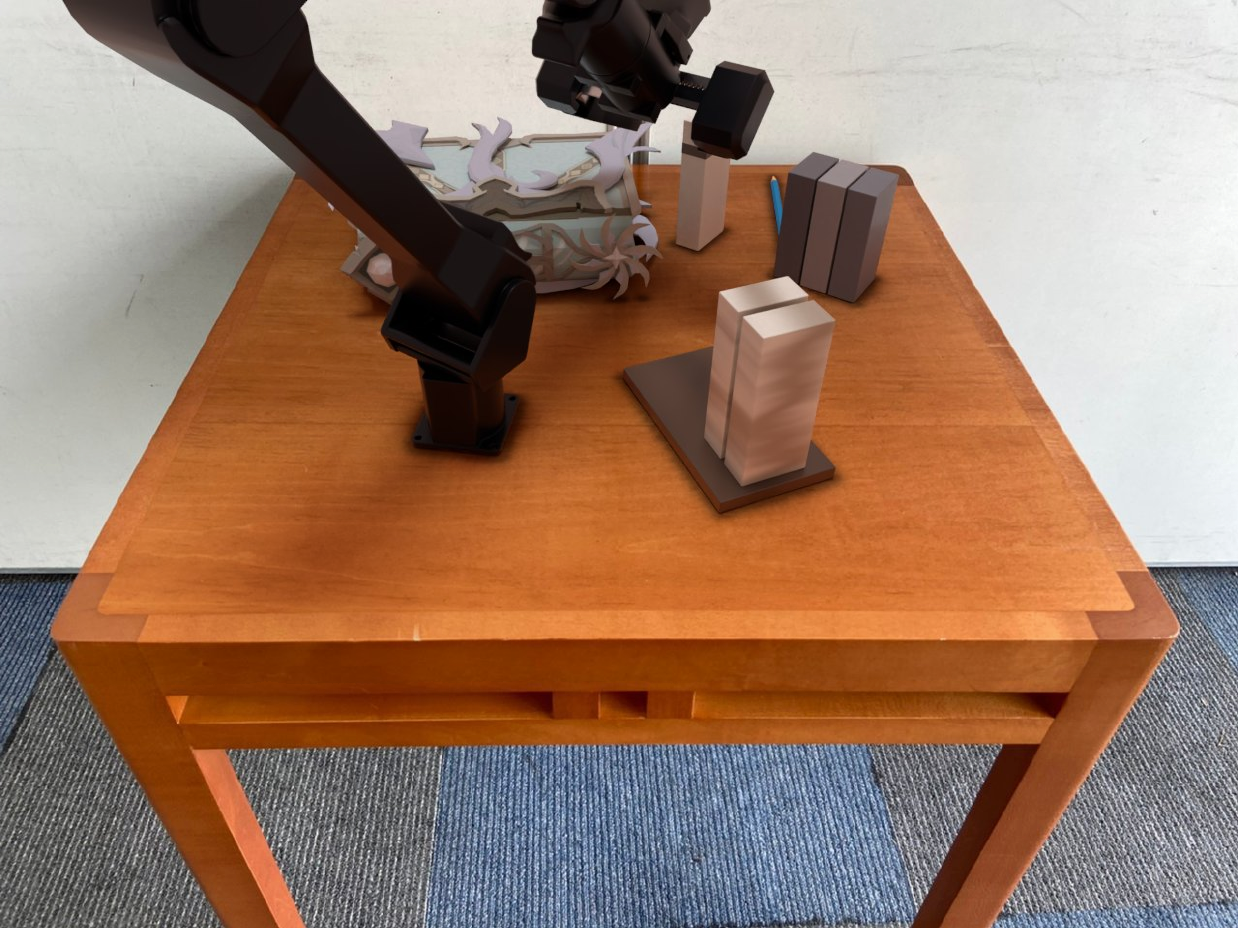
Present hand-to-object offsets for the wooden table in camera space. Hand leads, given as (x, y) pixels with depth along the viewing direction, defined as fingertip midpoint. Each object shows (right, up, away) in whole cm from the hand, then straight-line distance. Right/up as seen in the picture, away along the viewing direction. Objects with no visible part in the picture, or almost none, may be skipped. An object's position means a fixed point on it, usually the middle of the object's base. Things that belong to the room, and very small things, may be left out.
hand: (683, 138), depth 77 cm
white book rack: (+2, -25, -10) cm, 27 cm away
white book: (+2, -6, +10) cm, 12 cm away
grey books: (+13, -11, +5) cm, 18 cm away
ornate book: (-16, -7, +9) cm, 19 cm away
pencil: (+11, -3, +14) cm, 18 cm away
